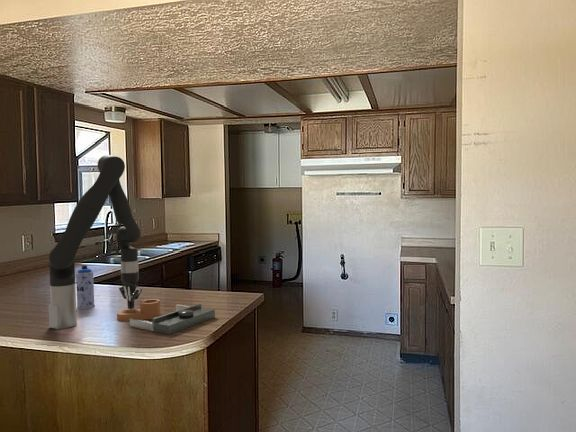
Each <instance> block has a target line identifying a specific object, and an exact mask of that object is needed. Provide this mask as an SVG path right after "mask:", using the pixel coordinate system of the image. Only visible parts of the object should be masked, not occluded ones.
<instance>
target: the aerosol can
mask: <svg viewBox="0 0 576 432" xmlns="http://www.w3.org/2000/svg"><path fill="white" fill-rule="evenodd" d="M94 285H95V284H94V271H93V270H92V269H91V268H89V267H88V265H81V268H80V269H79V270H78V271H77V272H75V286H76V309H78V310H85V309H86V310H87V309H92V308H94V307H95V306H96V305H95V289H94V287H95V286H94Z"/></svg>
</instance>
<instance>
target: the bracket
mask: <svg viewBox="0 0 576 432" xmlns="http://www.w3.org/2000/svg"><path fill="white" fill-rule="evenodd" d="M139 303H140V305H139V308H135V309H134V308H133V309H123V310H122V309H121V310H119V311H117V312H116V319H117V321H120V322H121V321H122V322H124V321H125V322H127V321H130V319H131V318H134V319H138V320H143V321H144V320H152V319H153V318H156V317H159V316H161V300H160V299H158V298H157V299H156V298H150V299H149V298H148V299H143V300H140V301H139Z"/></svg>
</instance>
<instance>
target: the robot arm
mask: <svg viewBox="0 0 576 432" xmlns="http://www.w3.org/2000/svg"><path fill="white" fill-rule="evenodd" d="M97 169H98V171H99V174H98V177H97V179H96V180H95V182H94V183H93V184H92V186H91V187H90V188H89V189H88V190H87V191H85V192H84V194H83V195H82V196H81V197H80V198H79V201H78V202H77V204H76V206H75V207H74V209H73V210H72V213H71V215H70V218H69V219H68V223H67V225H66V228H65V230H64V232H63V235H62V236H61V237H60V239H59V241H58V242H57V244H56V245H55V246H54V247H52V248H51V250H50V251H49V254H48V262H49V265H48V266H49V293H50V303H49V304H48V320H49V321H48V323H49V325H48V326H49V328H51V329H54V330H55V329H56V330H61V329H69V328H72V327H75V326H76V325H78V321H77V320H78V318H77V287H76V270H75V269H76V267H75V257H76V255H77V253H78V251H79V248H80V246H81V243H82V242H83V240H84V238H85V236H86V235H87V234H88V233H89V232H90V230H91V229H92V227H93V225H94V223H95V222H96V221H97V218H98V217H99V215H100V213H101V211H102V209H103V207H104V205H105V203H106V201H107V199H108V197H109V199H110V202H111V206H112V210H113V214H114V218H115V220H116V222H117V224H120V225H123V226H121V227H118V229H117V230H116V235H115V238H116V241H117V244H118V248H119V252H120V281H121V282H122V286H121V287H118V290H119V291H120V294H121V295H122V297H123V299H124V300H126V301H127V310H131V309H134V308H135V301H136V300H138V299H139V297H140V295H141V294H142V291H143V289H142V288H139V283H138V281H139V280H140V275H139V274H140V273H139V272H140V271H139V269H140V268H139V260H138V259H139V258H138V249H137V248H136V247H133V246H132V245H131V243H137V242H138V241H140V239H141V235H142V234H141V229H140V226H139V225H138V224H137V221H136V220H135V218H134V216H133V213H132V208H131V205H130V202H129V200H128V197H127V196H126V193H125V192H124V189H123V186H122V185H121V180H120V179H121V177H122V175H124V172H125V169H126V164H125V162H124V160H123V159H122V158H121V157H120V156H116V155H110V154H105V155H103V156H101V157H100V158H98V161H97Z"/></svg>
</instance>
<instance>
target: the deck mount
mask: <svg viewBox="0 0 576 432" xmlns="http://www.w3.org/2000/svg"><path fill="white" fill-rule="evenodd" d="M214 318H216V309H215V308H207V307H202V303H195V304H194V305H191V306H189V305H184V304H178V303H177V304H175V311H172V312H168V313H166V314H163V315H160V316H159V317H156V318H153V319H151V321H148V320H144V319H143V320H138V319H134V318H131V319H130V320H129V327H132V328H136V329H142V330H147V331H151V332H155V333H159V334H164V335H167V336H170V335H172V334H175V333H178V332H180V331H183V330H185V329H188V328H191V327H193V326H196V325H199V324H201V323H204V322H206V321H210V320H211V319H214Z"/></svg>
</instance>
